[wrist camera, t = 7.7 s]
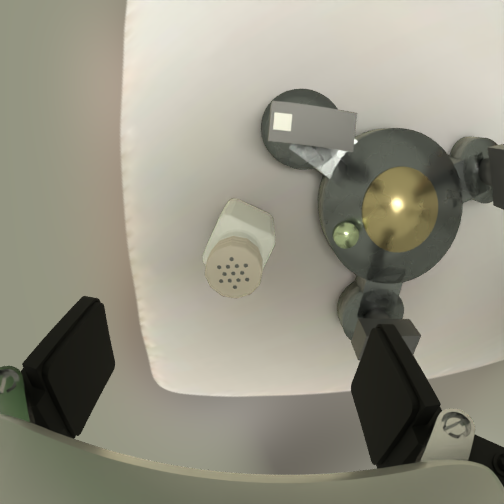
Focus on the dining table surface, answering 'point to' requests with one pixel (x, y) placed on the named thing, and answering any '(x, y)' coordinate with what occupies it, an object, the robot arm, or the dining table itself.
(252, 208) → the pepper shaker
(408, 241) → the levelling base
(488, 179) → the knob
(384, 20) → the dining table surface
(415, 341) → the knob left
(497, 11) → the dining table surface
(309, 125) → the knob
